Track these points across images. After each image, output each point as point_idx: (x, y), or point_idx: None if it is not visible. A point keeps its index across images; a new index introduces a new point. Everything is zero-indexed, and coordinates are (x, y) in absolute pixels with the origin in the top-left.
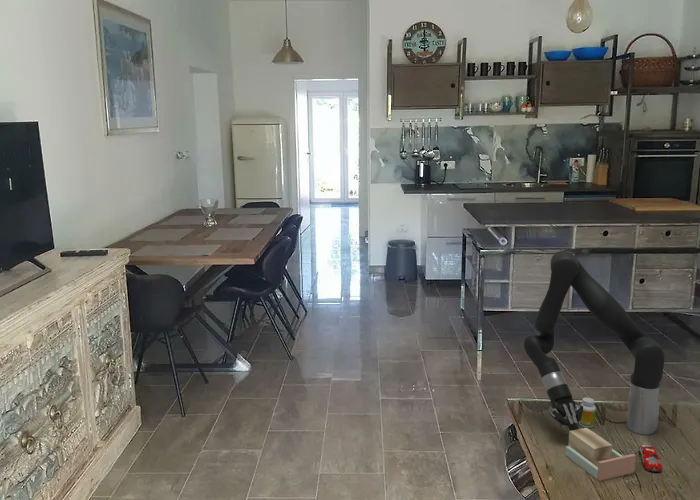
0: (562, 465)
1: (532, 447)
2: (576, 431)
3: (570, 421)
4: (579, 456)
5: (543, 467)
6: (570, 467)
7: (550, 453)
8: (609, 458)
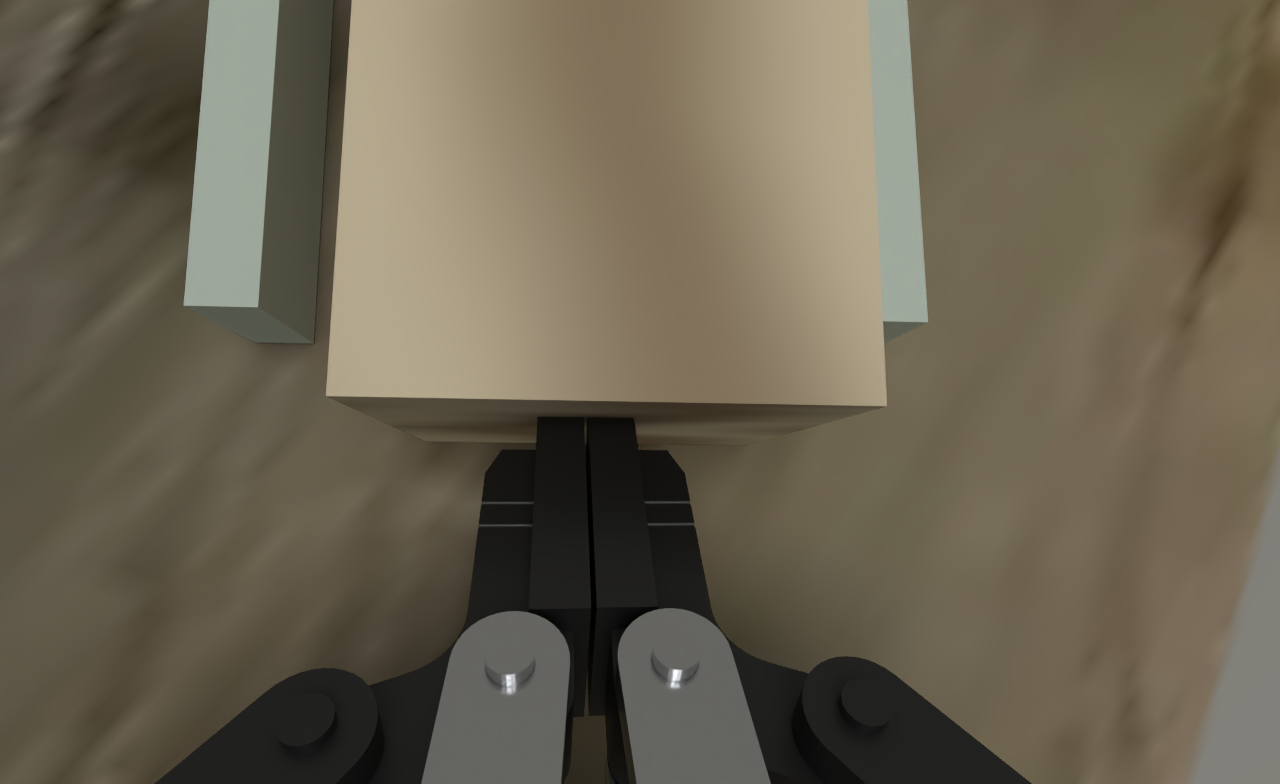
0: (1040, 160)
1: (1184, 681)
2: (730, 325)
3: (706, 686)
4: (900, 9)
5: (1274, 210)
6: (973, 89)
7: (1030, 453)
8: None
